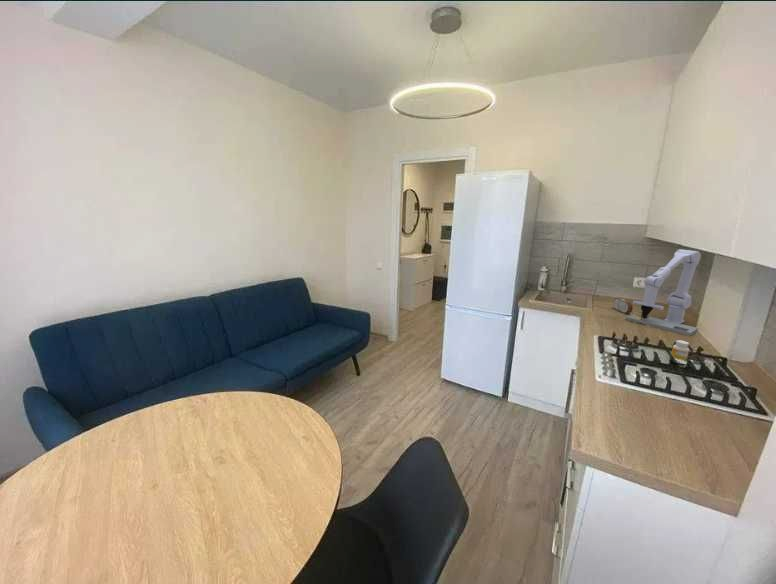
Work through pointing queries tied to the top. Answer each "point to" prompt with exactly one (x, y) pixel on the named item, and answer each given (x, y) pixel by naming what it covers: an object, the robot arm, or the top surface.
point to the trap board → (665, 325)
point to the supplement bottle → (680, 350)
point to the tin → (623, 305)
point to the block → (638, 315)
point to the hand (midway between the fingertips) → (644, 318)
